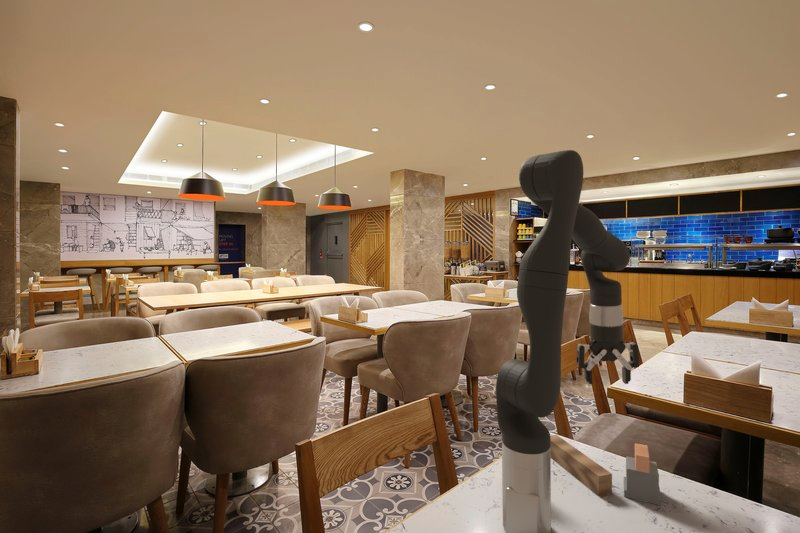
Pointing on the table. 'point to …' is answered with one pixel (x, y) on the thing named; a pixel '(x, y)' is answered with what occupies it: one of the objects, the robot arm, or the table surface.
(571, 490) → the table surface
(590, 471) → the brown wooden beam
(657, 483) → the balance stand
